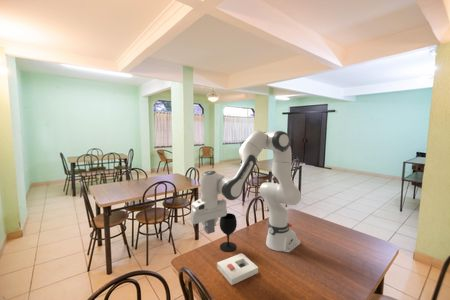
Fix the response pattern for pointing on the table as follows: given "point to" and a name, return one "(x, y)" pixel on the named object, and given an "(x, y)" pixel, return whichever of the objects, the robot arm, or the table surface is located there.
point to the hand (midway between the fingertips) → (209, 227)
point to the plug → (210, 226)
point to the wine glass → (228, 231)
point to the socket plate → (237, 268)
